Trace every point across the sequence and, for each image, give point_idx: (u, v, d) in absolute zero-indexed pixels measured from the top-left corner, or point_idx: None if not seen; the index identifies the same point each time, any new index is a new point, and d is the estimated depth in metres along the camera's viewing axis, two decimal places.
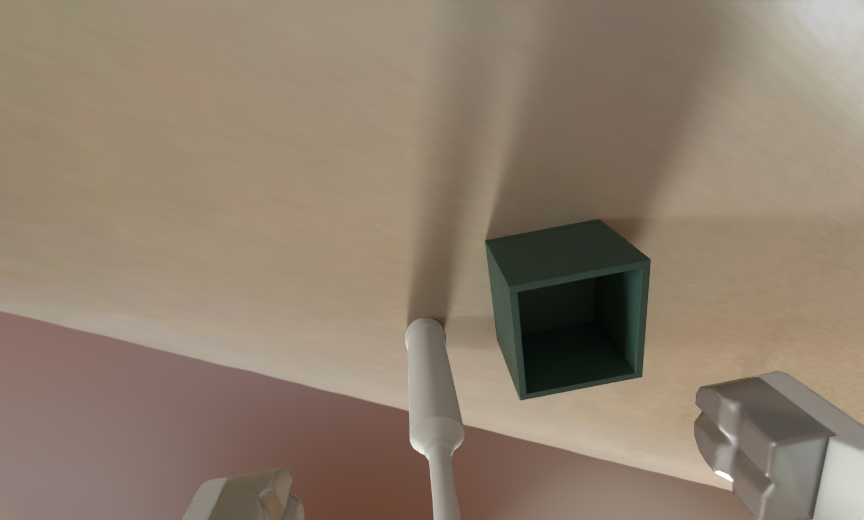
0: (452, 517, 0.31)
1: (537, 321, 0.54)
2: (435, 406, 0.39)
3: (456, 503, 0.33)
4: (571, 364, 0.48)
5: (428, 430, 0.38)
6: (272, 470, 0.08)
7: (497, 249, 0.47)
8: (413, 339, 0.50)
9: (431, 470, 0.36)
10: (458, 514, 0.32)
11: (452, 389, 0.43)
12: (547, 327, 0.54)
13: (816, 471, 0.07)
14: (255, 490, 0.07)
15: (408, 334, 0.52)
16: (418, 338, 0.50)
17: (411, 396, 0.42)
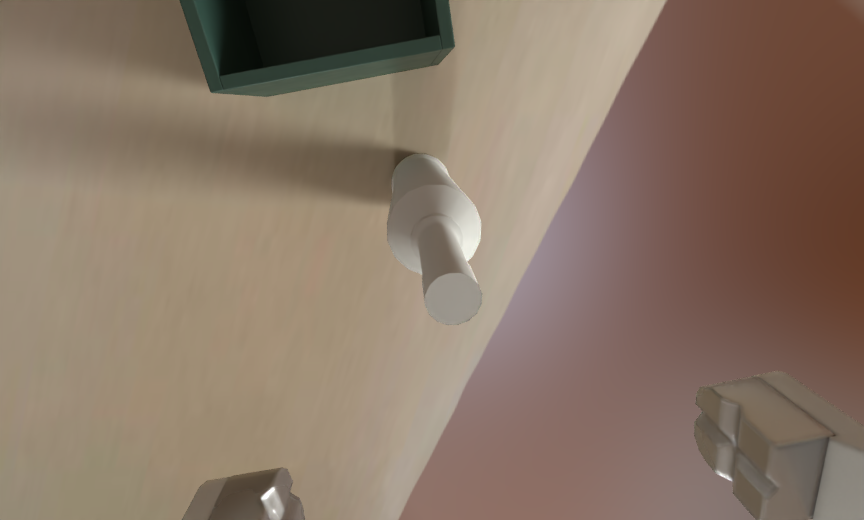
0: (425, 291, 0.15)
1: None
2: None
3: (433, 263, 0.16)
4: None
5: (404, 252, 0.22)
6: (272, 470, 0.08)
7: None
8: None
9: None
10: (437, 270, 0.15)
11: (405, 181, 0.26)
12: None
13: (816, 471, 0.07)
14: (255, 490, 0.07)
15: None
16: None
17: None
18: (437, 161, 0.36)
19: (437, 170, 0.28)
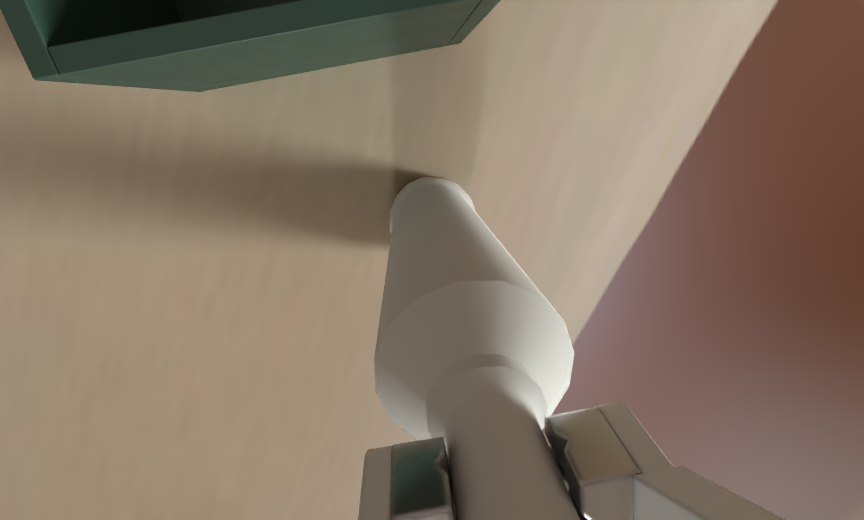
0: None
1: None
2: None
3: None
4: None
5: (412, 422, 0.10)
6: (434, 439, 0.08)
7: None
8: None
9: None
10: None
11: (412, 244, 0.14)
12: None
13: (628, 508, 0.07)
14: (427, 457, 0.07)
15: None
16: None
17: None
18: (458, 189, 0.24)
19: (466, 217, 0.16)
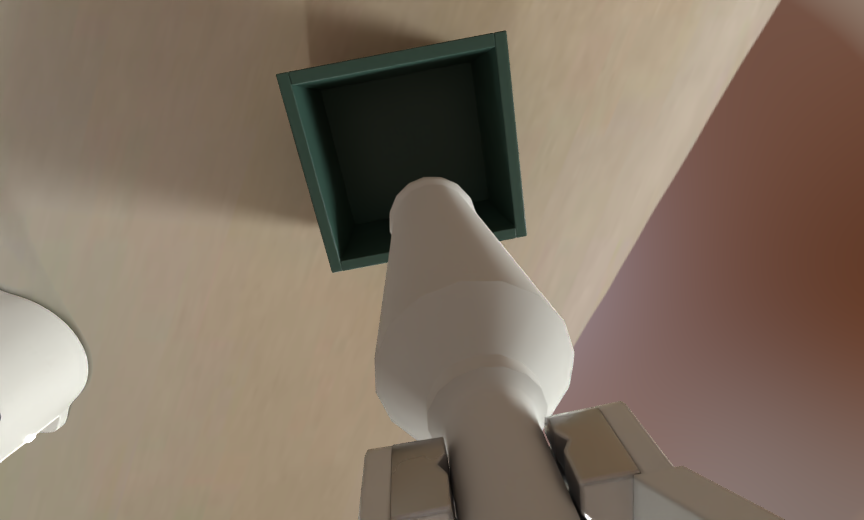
0: None
1: (464, 155, 0.38)
2: None
3: None
4: (496, 138, 0.31)
5: (412, 422, 0.10)
6: (434, 439, 0.08)
7: None
8: None
9: None
10: None
11: (412, 245, 0.14)
12: (476, 138, 0.38)
13: (628, 508, 0.07)
14: (427, 457, 0.07)
15: None
16: None
17: None
18: (458, 189, 0.24)
19: (466, 217, 0.16)
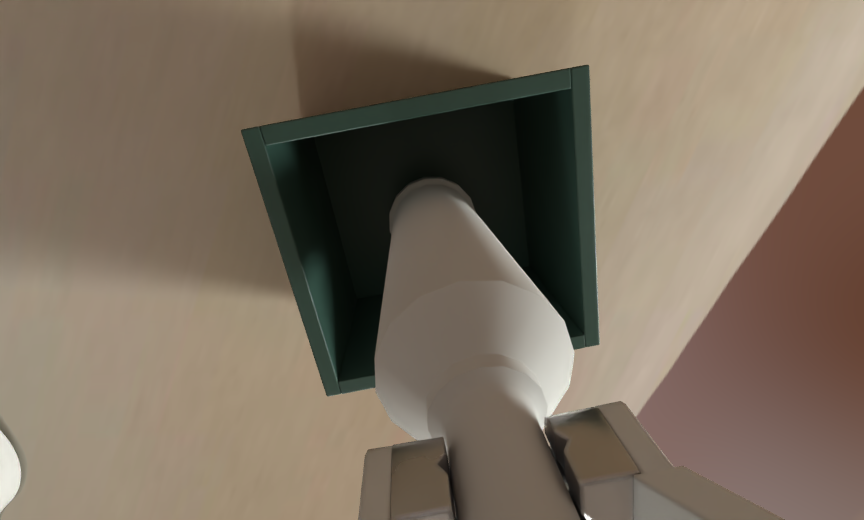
0: None
1: (500, 212, 0.30)
2: None
3: None
4: (555, 206, 0.22)
5: (412, 422, 0.10)
6: (434, 439, 0.08)
7: None
8: None
9: None
10: None
11: (412, 245, 0.14)
12: (516, 191, 0.29)
13: (628, 507, 0.07)
14: (427, 457, 0.07)
15: None
16: None
17: None
18: (458, 189, 0.24)
19: (466, 217, 0.16)
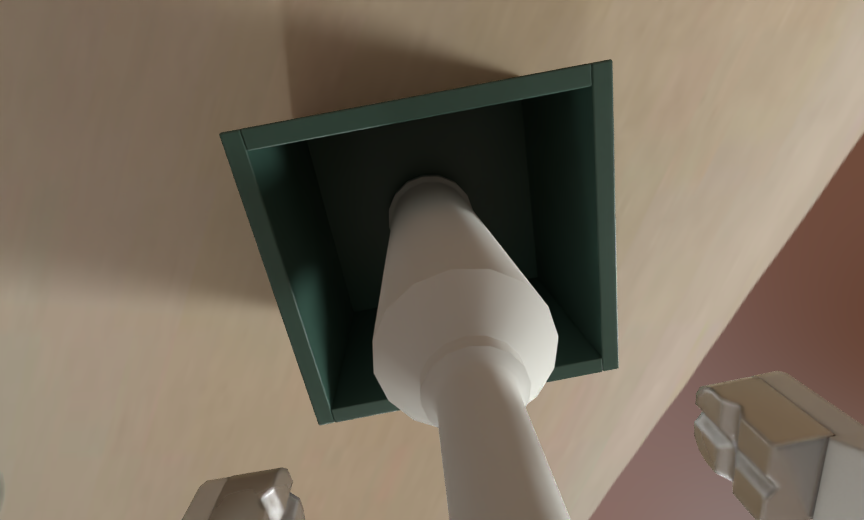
0: None
1: (507, 220, 0.28)
2: None
3: None
4: (570, 216, 0.20)
5: (407, 400, 0.11)
6: (272, 470, 0.08)
7: None
8: None
9: None
10: None
11: (409, 238, 0.15)
12: (524, 198, 0.27)
13: (816, 471, 0.07)
14: (255, 490, 0.07)
15: None
16: None
17: None
18: (455, 186, 0.25)
19: (461, 213, 0.17)
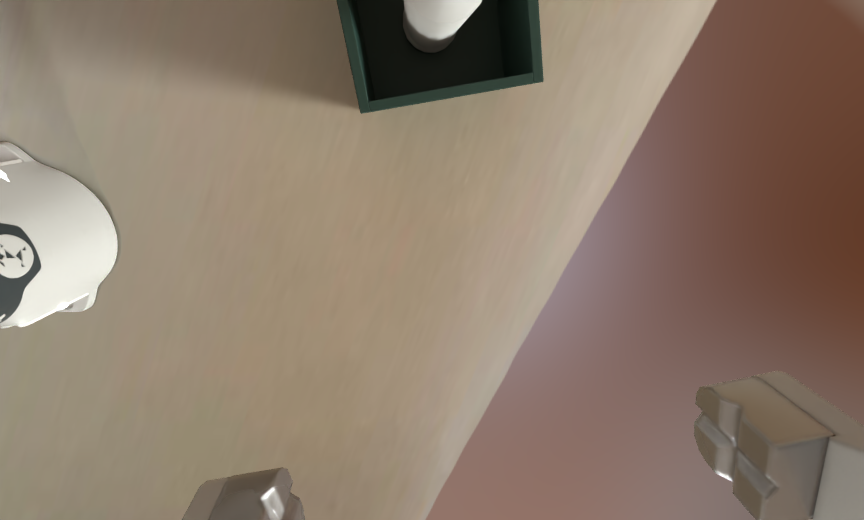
0: None
1: (482, 33, 0.40)
2: None
3: None
4: None
5: None
6: (272, 470, 0.08)
7: None
8: (413, 37, 0.37)
9: None
10: None
11: None
12: (493, 16, 0.40)
13: (816, 471, 0.07)
14: (255, 490, 0.07)
15: (417, 46, 0.39)
16: (408, 28, 0.36)
17: (423, 27, 0.29)
18: None
19: None
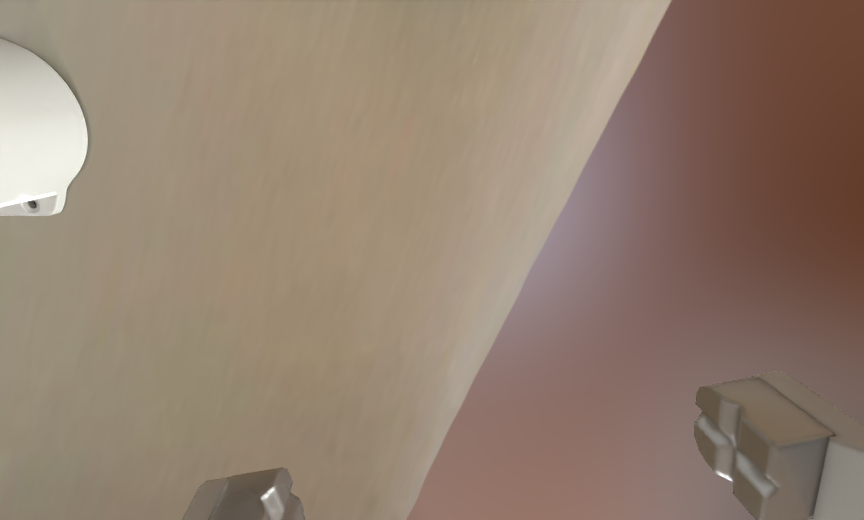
0: None
1: None
2: None
3: None
4: None
5: None
6: (272, 470, 0.08)
7: None
8: None
9: None
10: None
11: None
12: None
13: (816, 471, 0.07)
14: (255, 490, 0.07)
15: None
16: None
17: None
18: None
19: None
